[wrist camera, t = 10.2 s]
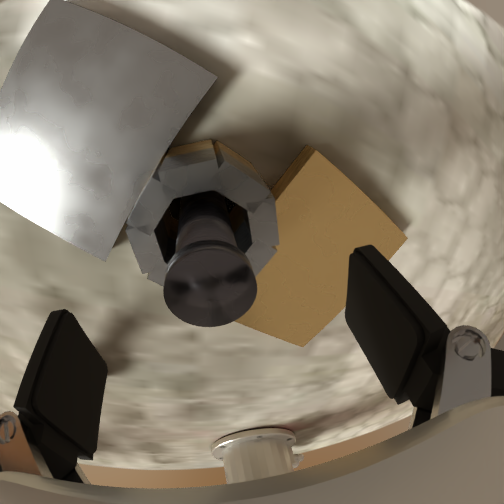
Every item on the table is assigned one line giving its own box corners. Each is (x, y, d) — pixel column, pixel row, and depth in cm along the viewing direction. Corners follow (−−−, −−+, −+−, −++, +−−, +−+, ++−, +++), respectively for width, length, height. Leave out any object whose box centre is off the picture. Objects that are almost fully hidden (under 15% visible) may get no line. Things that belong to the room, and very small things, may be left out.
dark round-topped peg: (238, 188, 17) (275, 279, 9) (209, 228, 18) (223, 337, 10) (194, 161, 15) (194, 236, 8) (166, 204, 16) (147, 306, 9)
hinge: (396, 228, 20) (436, 264, 16) (297, 334, 24) (315, 380, 20) (62, 2, 8) (21, -19, 4) (-15, 175, 12) (-59, 206, 8)
